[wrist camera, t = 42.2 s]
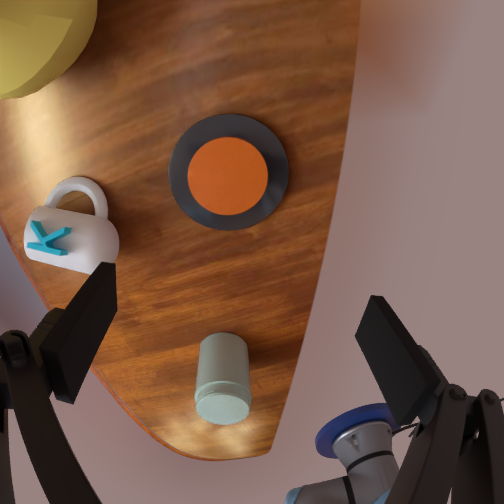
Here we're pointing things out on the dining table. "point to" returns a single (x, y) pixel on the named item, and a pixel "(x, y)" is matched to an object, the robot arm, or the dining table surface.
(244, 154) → the lid
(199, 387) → the jar
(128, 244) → the dining table surface
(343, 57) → the dining table surface
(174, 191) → the mat
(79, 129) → the dining table surface
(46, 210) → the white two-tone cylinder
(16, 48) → the vase
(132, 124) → the dining table surface
